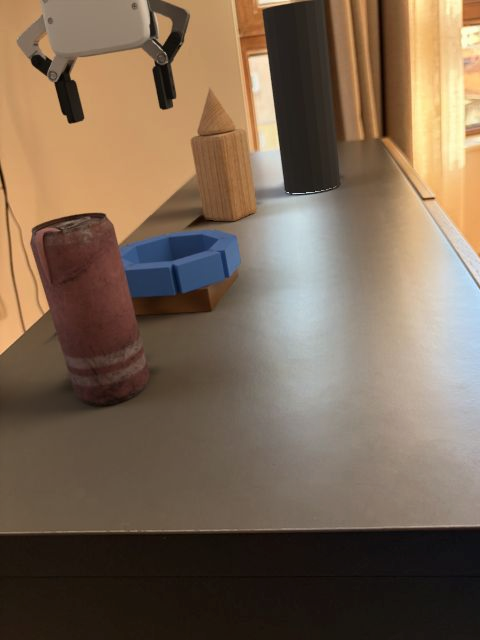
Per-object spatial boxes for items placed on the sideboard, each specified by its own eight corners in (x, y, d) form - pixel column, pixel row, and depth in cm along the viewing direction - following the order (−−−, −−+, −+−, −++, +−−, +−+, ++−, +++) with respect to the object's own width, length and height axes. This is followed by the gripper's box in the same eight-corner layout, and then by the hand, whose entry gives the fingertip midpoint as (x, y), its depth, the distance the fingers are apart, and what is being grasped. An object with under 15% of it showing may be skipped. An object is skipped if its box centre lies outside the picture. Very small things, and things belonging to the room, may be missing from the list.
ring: (90, 300, 67) (82, 273, 65) (141, 259, 79) (136, 235, 78) (217, 292, 63) (212, 263, 62) (250, 250, 75) (246, 225, 74)
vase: (342, 179, 121) (326, 1, 109) (338, 191, 112) (320, -3, 100) (288, 185, 123) (267, 11, 111) (280, 197, 114) (256, 9, 102)
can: (59, 406, 51) (5, 234, 45) (104, 370, 56) (61, 212, 50) (123, 412, 48) (74, 231, 43) (164, 373, 54) (126, 207, 48)
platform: (114, 316, 69) (109, 294, 68) (152, 281, 78) (148, 262, 77) (211, 311, 66) (207, 288, 65) (238, 276, 75) (235, 255, 74)
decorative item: (203, 221, 105) (179, 91, 97) (228, 211, 110) (208, 86, 102) (234, 222, 101) (212, 87, 93) (259, 211, 106) (240, 81, 98)
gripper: (178, -92, 60) (210, 100, 67) (8, -59, 63) (55, 123, 70) (159, -110, 54) (197, 106, 61) (-30, -72, 56) (26, 131, 63)
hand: (121, 115), depth 65 cm, fingers open, 9 cm apart
